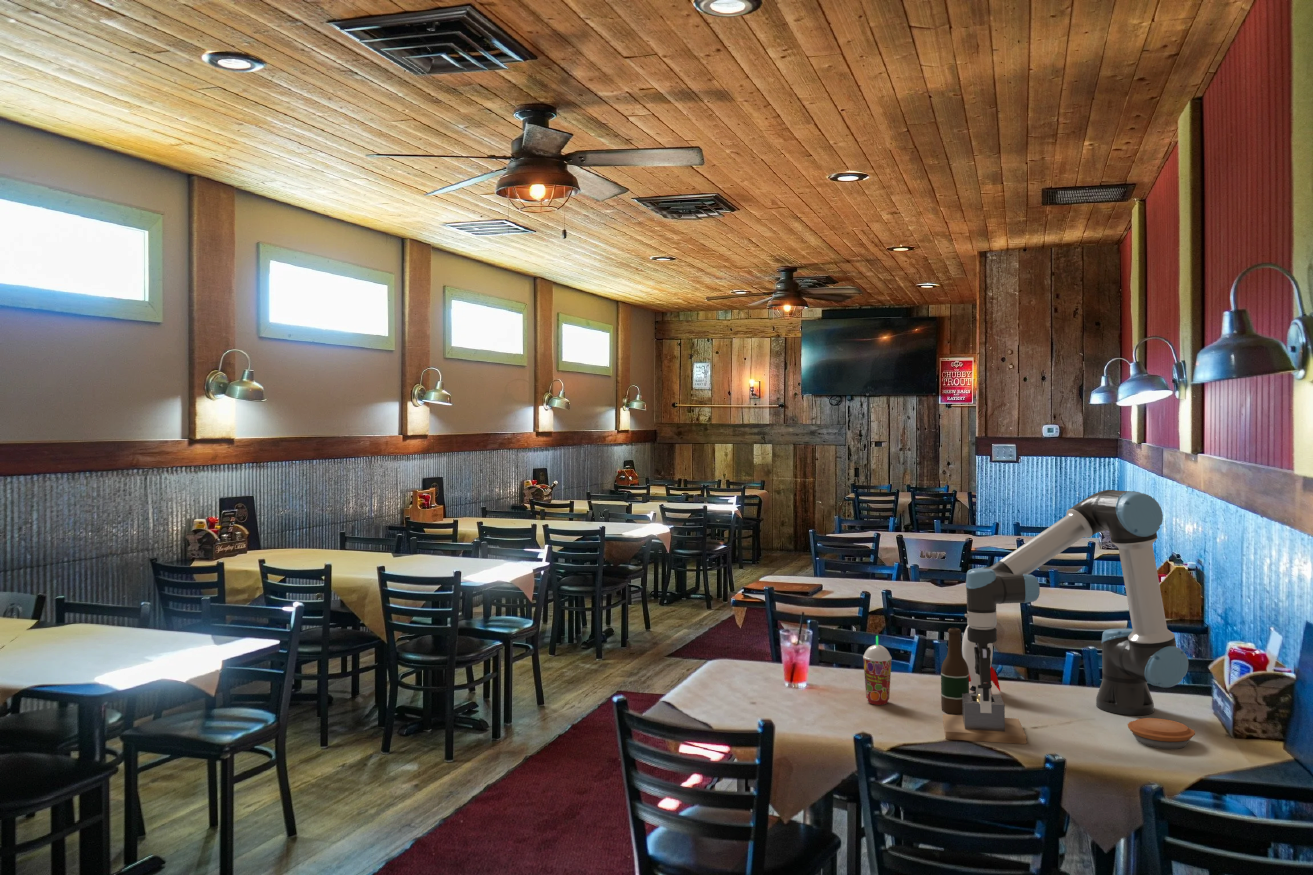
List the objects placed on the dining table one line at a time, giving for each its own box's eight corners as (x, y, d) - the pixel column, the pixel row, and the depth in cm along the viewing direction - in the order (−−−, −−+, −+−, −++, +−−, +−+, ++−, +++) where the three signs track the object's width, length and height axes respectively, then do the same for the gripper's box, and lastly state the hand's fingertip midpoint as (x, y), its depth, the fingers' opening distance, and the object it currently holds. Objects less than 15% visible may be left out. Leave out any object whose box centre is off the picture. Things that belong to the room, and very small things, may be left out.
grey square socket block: (1000, 720, 263) (1000, 694, 263) (1004, 731, 253) (1004, 704, 253) (962, 718, 265) (962, 692, 265) (965, 729, 256) (964, 702, 256)
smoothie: (861, 704, 287) (860, 637, 287) (866, 697, 295) (865, 632, 295) (889, 707, 284) (889, 639, 284) (893, 699, 292) (893, 634, 292)
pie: (1166, 755, 239) (1166, 735, 239) (1114, 737, 254) (1114, 719, 254) (1209, 746, 246) (1208, 727, 246) (1156, 730, 260) (1155, 711, 260)
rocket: (1000, 691, 300) (999, 611, 300) (992, 699, 291) (991, 616, 291) (964, 686, 306) (963, 608, 306) (955, 694, 297) (954, 613, 297)
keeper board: (1018, 725, 265) (1018, 718, 265) (1026, 743, 249) (1026, 736, 249) (942, 721, 269) (942, 714, 269) (945, 738, 254) (945, 731, 254)
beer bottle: (970, 715, 275) (970, 631, 275) (942, 714, 276) (941, 630, 276) (967, 708, 282) (966, 626, 282) (940, 706, 284) (939, 625, 284)
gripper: (964, 617, 272) (965, 692, 272) (970, 635, 248) (972, 718, 248) (991, 618, 270) (993, 693, 271) (1001, 636, 246) (1003, 719, 246)
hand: (983, 705), depth 259 cm, fingers open, 13 cm apart
